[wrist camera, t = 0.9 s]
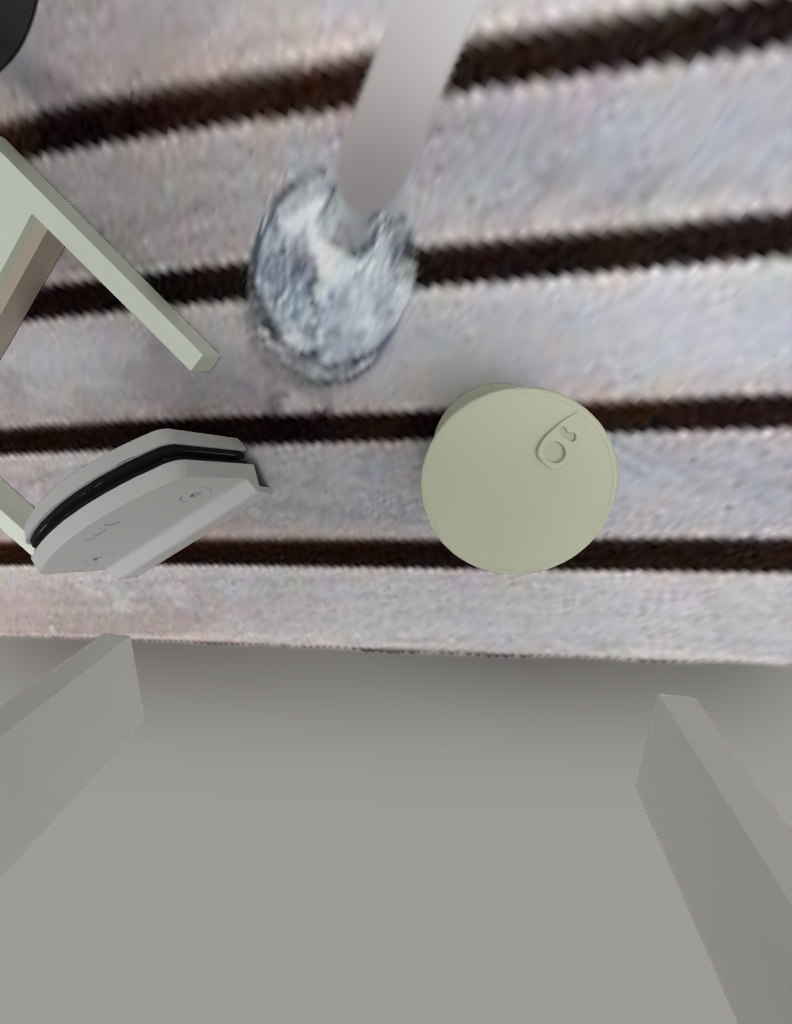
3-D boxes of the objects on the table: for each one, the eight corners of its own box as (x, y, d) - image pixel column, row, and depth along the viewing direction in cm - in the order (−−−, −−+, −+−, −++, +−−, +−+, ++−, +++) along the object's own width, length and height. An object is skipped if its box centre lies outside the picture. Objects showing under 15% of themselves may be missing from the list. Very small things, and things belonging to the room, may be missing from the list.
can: (591, 438, 30) (671, 475, 19) (502, 533, 33) (525, 614, 22) (489, 355, 30) (508, 340, 18) (407, 459, 32) (380, 502, 21)
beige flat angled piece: (-117, 391, 37) (-154, 392, 35) (5, 138, 30) (-33, 119, 28) (67, 554, 39) (43, 565, 37) (220, 356, 32) (202, 354, 30)
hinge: (133, 579, 39) (5, 599, 30) (115, 532, 40) (-16, 537, 30) (276, 490, 35) (178, 481, 25) (253, 440, 35) (149, 412, 26)
